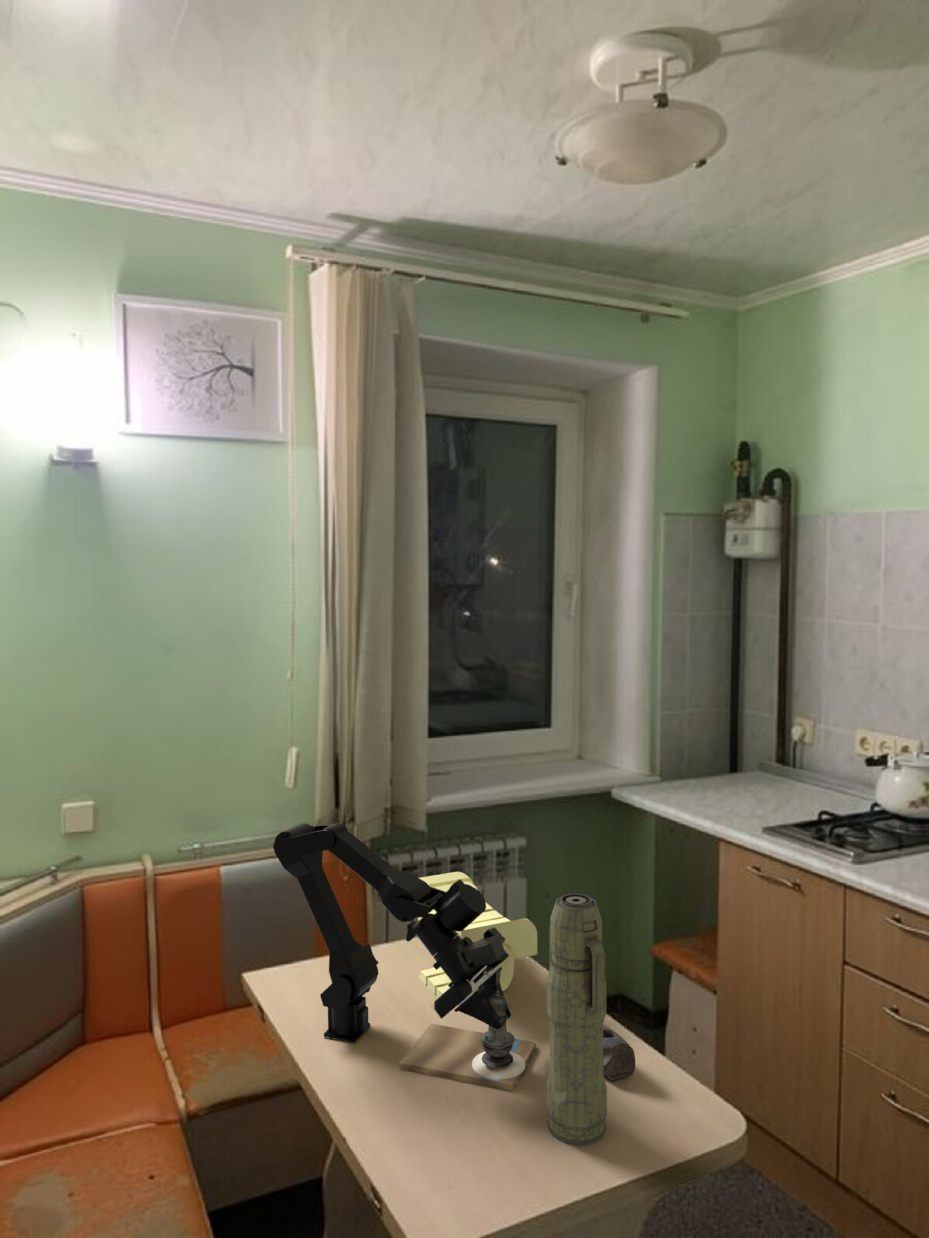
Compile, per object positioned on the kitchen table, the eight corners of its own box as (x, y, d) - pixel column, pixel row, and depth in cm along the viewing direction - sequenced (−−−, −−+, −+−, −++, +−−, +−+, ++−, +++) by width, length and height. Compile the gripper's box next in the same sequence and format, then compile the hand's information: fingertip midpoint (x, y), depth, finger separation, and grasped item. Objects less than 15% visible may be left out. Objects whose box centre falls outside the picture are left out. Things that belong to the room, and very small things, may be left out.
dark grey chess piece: (499, 1072, 148) (498, 1001, 148) (472, 1059, 152) (472, 989, 152) (522, 1058, 153) (522, 989, 152) (496, 1045, 157) (495, 978, 156)
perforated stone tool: (564, 1047, 160) (564, 1008, 159) (589, 1040, 162) (589, 1002, 161) (611, 1091, 146) (611, 1049, 146) (638, 1084, 148) (638, 1042, 148)
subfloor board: (399, 1068, 153) (399, 1062, 153) (430, 1028, 166) (430, 1022, 166) (515, 1091, 146) (515, 1084, 146) (538, 1047, 159) (538, 1041, 159)
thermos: (583, 1159, 129) (582, 918, 127) (529, 1119, 139) (527, 894, 137) (626, 1135, 134) (626, 904, 133) (571, 1098, 144) (570, 882, 142)
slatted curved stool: (537, 1006, 174) (537, 915, 173) (462, 1024, 168) (461, 930, 167) (471, 948, 202) (470, 869, 201) (404, 961, 195) (403, 880, 194)
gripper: (451, 939, 144) (514, 1022, 140) (498, 900, 161) (556, 973, 157) (408, 977, 148) (468, 1059, 144) (458, 935, 165) (514, 1007, 161)
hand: (504, 1022), depth 151 cm, fingers closed on dark grey chess piece, 3 cm apart
